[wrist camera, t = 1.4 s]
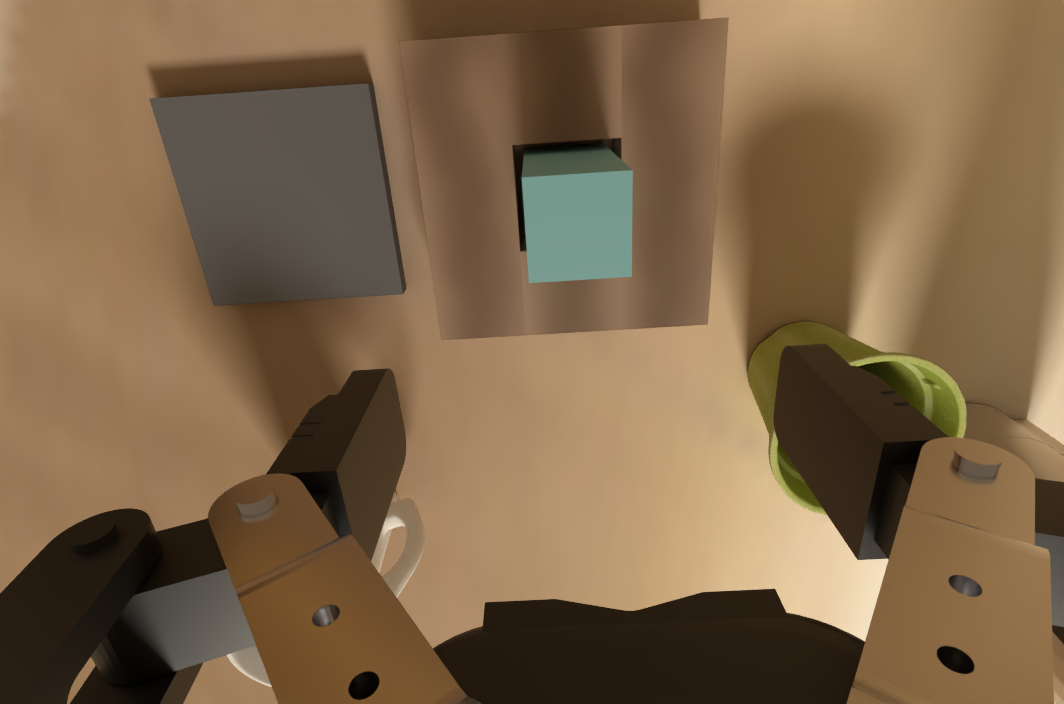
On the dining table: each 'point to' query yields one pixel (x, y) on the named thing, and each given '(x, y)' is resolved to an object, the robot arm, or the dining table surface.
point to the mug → (396, 578)
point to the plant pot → (900, 371)
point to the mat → (285, 192)
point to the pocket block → (563, 119)
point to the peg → (577, 213)
